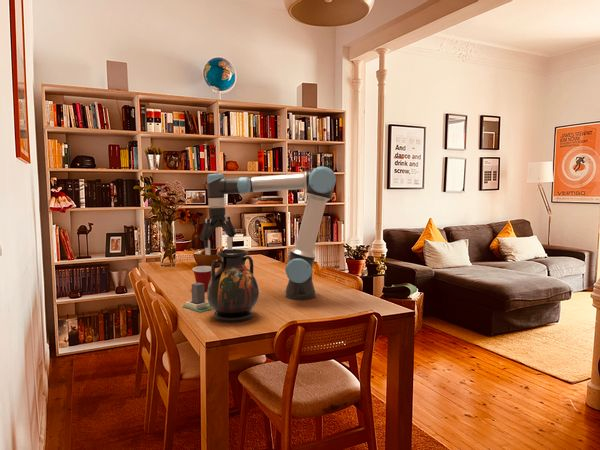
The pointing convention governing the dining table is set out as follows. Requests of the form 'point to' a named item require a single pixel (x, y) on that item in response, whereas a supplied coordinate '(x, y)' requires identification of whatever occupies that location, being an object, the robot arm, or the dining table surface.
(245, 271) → the amphora vase
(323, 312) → the dining table surface
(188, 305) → the board
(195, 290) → the dark grey rectangular block
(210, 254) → the robot arm
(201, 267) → the plastic cup
